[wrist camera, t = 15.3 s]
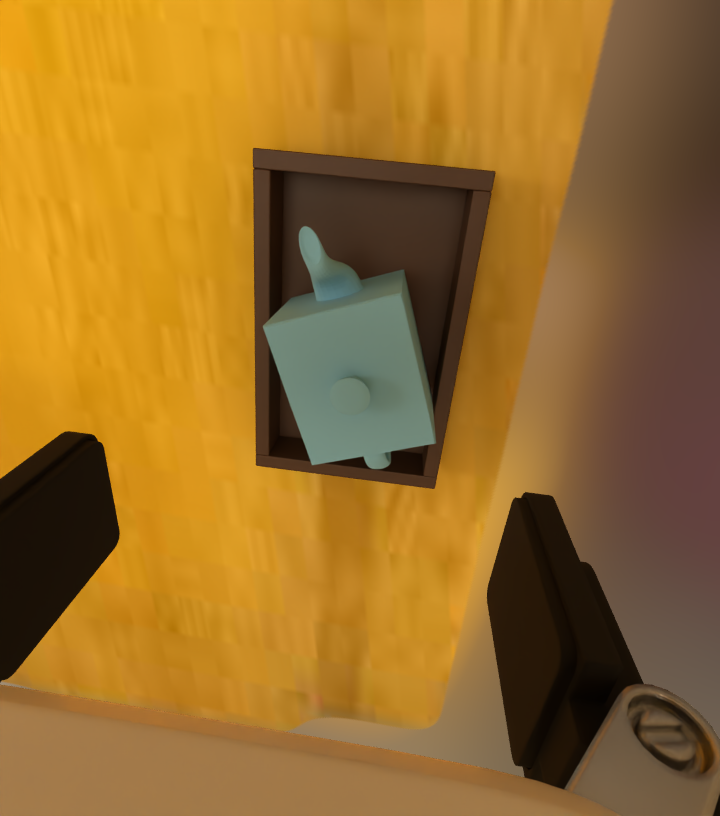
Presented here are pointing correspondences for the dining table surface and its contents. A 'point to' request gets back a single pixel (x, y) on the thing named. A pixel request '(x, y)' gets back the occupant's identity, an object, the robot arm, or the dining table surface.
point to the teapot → (352, 363)
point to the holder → (368, 256)
